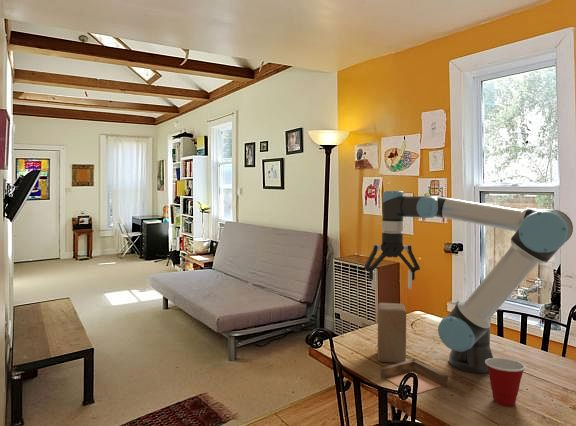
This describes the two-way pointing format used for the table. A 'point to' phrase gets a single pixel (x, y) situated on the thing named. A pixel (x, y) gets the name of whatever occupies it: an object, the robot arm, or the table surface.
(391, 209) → the robot arm
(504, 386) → the plastic cup
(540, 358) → the table surface
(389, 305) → the block
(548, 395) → the table surface
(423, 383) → the tile
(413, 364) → the arena
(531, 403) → the table surface
